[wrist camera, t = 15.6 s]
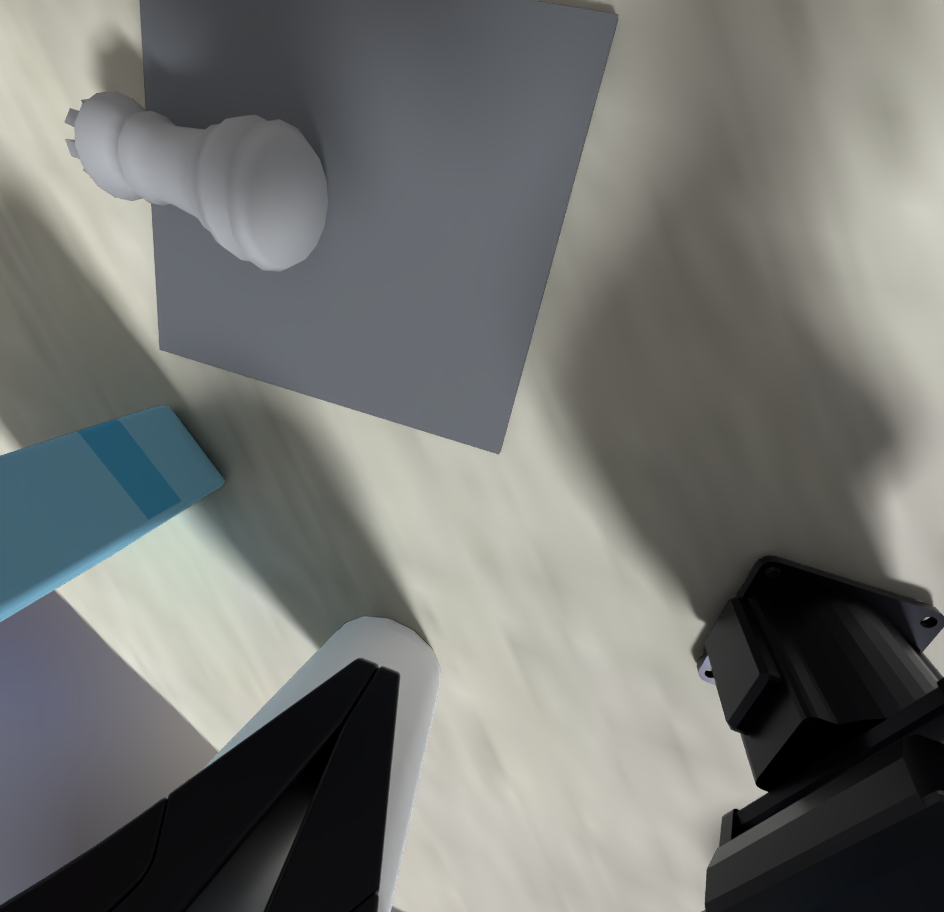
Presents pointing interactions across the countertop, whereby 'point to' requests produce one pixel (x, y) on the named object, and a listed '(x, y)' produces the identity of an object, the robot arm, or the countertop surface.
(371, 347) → the mat
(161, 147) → the rook chess piece
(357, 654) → the foam cup
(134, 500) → the data package
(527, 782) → the countertop surface
